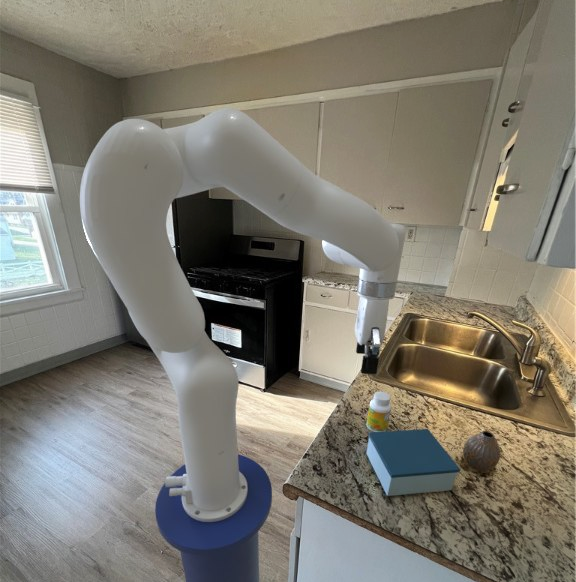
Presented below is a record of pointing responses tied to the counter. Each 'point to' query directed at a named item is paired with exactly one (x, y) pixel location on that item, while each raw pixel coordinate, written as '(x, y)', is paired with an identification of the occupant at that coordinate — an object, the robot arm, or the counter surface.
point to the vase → (482, 451)
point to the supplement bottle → (379, 412)
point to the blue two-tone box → (411, 462)
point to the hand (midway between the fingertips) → (365, 362)
